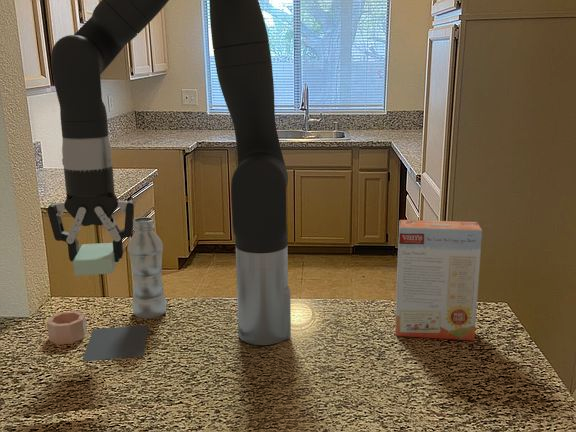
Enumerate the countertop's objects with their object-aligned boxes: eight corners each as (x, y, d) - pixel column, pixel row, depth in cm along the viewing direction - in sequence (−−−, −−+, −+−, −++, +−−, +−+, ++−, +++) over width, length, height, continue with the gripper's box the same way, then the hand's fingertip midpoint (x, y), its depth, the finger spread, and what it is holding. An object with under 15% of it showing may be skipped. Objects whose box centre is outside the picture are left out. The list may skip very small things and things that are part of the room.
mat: (148, 329, 106) (148, 324, 106) (144, 361, 95) (144, 355, 95) (93, 334, 105) (93, 329, 104) (82, 367, 93) (81, 361, 93)
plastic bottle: (140, 309, 115) (132, 214, 110) (172, 311, 114) (166, 215, 109) (127, 323, 109) (118, 223, 104) (161, 325, 108) (153, 224, 103)
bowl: (88, 332, 105) (86, 310, 104) (83, 347, 100) (80, 324, 99) (54, 335, 104) (52, 312, 103) (47, 350, 99) (44, 327, 98)
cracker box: (470, 327, 106) (478, 220, 101) (474, 342, 100) (484, 229, 95) (394, 322, 109) (399, 217, 103) (394, 336, 103) (399, 226, 97)
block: (118, 255, 101) (117, 242, 100) (112, 273, 92) (111, 258, 92) (83, 257, 100) (82, 244, 99) (74, 275, 91) (73, 261, 91)
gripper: (135, 159, 97) (141, 252, 101) (46, 161, 94) (57, 257, 98) (131, 167, 89) (138, 267, 94) (35, 169, 87) (47, 272, 91)
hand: (96, 261), depth 96 cm, fingers closed on block, 6 cm apart
